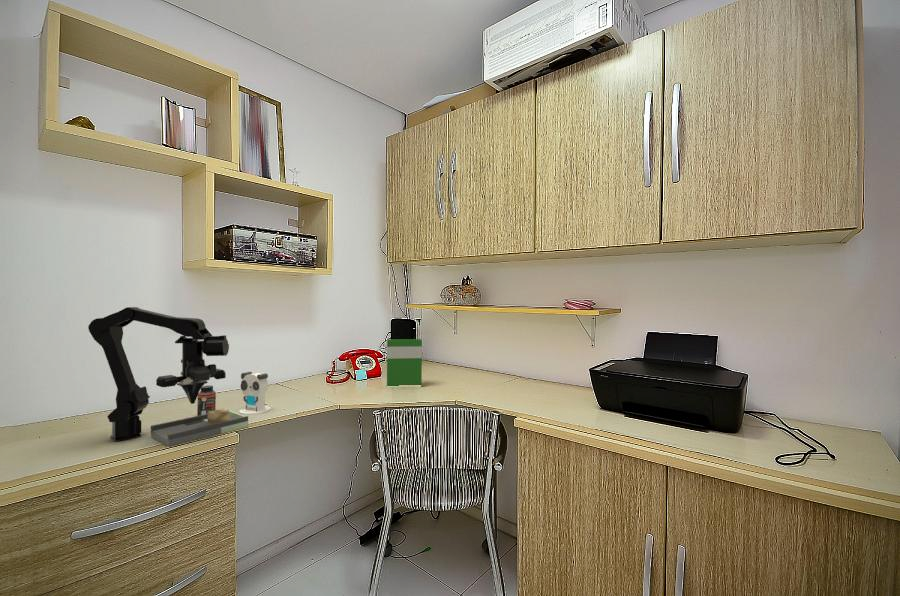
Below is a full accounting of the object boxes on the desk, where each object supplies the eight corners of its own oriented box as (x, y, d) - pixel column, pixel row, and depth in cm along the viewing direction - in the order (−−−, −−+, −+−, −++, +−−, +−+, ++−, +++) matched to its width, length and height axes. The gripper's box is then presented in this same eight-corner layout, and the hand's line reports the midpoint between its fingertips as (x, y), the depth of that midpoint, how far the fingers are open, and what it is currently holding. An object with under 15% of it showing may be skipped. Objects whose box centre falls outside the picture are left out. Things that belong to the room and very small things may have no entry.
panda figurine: (231, 411, 157) (232, 374, 157) (256, 405, 167) (257, 369, 167) (252, 415, 152) (252, 376, 152) (276, 408, 162) (277, 372, 162)
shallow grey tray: (168, 446, 120) (168, 435, 120) (150, 436, 128) (150, 425, 128) (248, 426, 139) (248, 416, 139) (227, 418, 148) (227, 409, 148)
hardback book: (420, 384, 211) (420, 339, 211) (421, 387, 204) (421, 340, 204) (387, 384, 209) (387, 339, 209) (386, 388, 201) (387, 340, 201)
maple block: (214, 424, 135) (214, 414, 135) (207, 421, 138) (207, 411, 138) (229, 421, 139) (229, 411, 139) (222, 418, 142) (222, 408, 142)
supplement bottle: (206, 418, 148) (207, 388, 148) (193, 417, 149) (193, 387, 149) (219, 414, 154) (219, 385, 154) (206, 413, 155) (206, 384, 155)
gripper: (169, 362, 119) (169, 414, 119) (233, 355, 134) (233, 401, 134) (155, 359, 126) (155, 408, 126) (218, 352, 141) (218, 396, 141)
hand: (192, 403), depth 131 cm, fingers closed
